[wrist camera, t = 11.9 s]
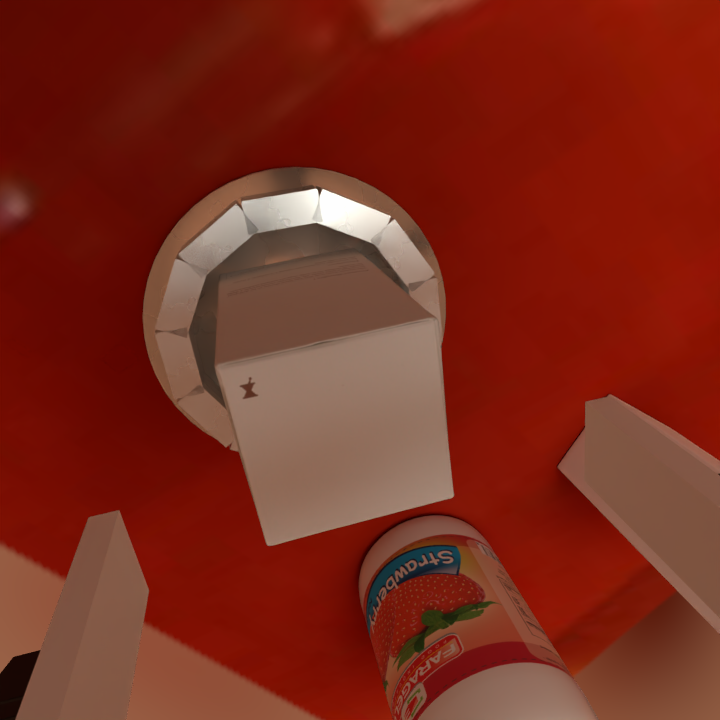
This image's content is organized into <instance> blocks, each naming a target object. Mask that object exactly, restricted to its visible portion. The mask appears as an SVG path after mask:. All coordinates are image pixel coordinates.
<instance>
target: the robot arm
mask: <svg viewBox="0 0 720 720" xmlns="http://www.w3.org/2000/svg"><path fill="white" fill-rule="evenodd" d="M584 481H585V482H586V483H587V484H588V485H589V486H590V487H591V488H592V489H593V490H594V491H595V492H596V493H597V494H598V495H599V496H600V497H601V498H602V499H603V500H604V501H605V503H606V504H607V505H608V506H609V507H610V508H611V509H612V510H613V511H614V512H615V513H616V514H617V515H618V516H619V517H620V518H621V519H622V520H623V521H624V522H625V523H626V524H627V525H628V526H629V527H630V528H631V529H632V530H633V531H634V532H635V533H636V534H637V535H638V536H639V537H640V538H641V539H642V540H643V541H644V542H645V543H646V544H647V545H648V546H649V547H650V548H651V549H652V550H653V551H654V552H655V553H656V554H657V555H658V556H659V557H660V558H661V559H662V560H663V561H664V562H665V563H666V564H667V565H668V566H669V567H670V568H671V569H672V570H673V571H674V573H675V574H676V575H677V576H678V577H679V578H680V579H681V580H682V581H683V582H684V583H685V584H686V585H687V586H688V587H689V588H690V589H691V590H692V591H693V592H694V593H695V594H696V595H697V596H698V597H699V598H700V599H701V600H702V601H703V602H704V603H705V604H706V605H707V606H708V607H709V608H710V609H711V610H712V611H713V612H714V613H715V614H716V615H717V616H718V617H719V618H720V473H719V474H717V473H715V472H714V471H713V470H711V469H710V468H709V467H707V466H706V465H704V464H703V463H702V462H700V461H699V460H697V459H696V458H695V457H693V456H692V455H691V454H689V453H688V452H686V451H685V450H684V449H682V448H681V447H679V446H678V445H677V444H675V443H674V442H673V441H671V440H670V439H668V438H667V437H666V436H664V435H663V434H661V433H660V432H659V431H657V430H656V429H655V428H653V427H652V426H650V425H649V424H648V423H646V422H645V421H643V420H642V419H641V418H639V417H638V416H637V415H635V414H634V413H632V412H631V411H630V410H628V409H627V408H625V407H624V406H623V405H621V404H620V403H618V402H617V401H616V400H614V399H613V398H612V397H610V396H609V397H604V398H600V399H596V400H591V401H587V402H585V464H584ZM148 593H149V589H148V586H147V584H146V581H145V578H144V576H143V573H142V570H141V568H140V565H139V562H138V560H137V557H136V554H135V552H134V549H133V546H132V544H131V541H130V538H129V535H128V533H127V530H126V527H125V525H124V522H123V519H122V517H121V514H120V511H119V510H118V511H114V512H110V513H105V514H101V515H97V516H92V517H89V518H88V521H87V523H86V526H85V529H84V532H83V534H82V537H81V540H80V543H79V545H78V548H77V551H76V554H75V556H74V559H73V562H72V565H71V567H70V570H69V573H68V576H67V578H66V581H65V584H64V587H63V590H62V592H61V595H60V598H59V601H58V604H57V606H56V609H55V612H54V614H53V617H52V620H51V623H50V626H49V628H48V631H47V634H46V636H45V639H44V642H43V645H42V648H41V650H39V651H35V652H31V653H27V654H23V655H20V656H16V657H13V658H12V660H11V661H10V662H9V663H8V665H7V666H6V667H5V668H4V670H3V671H2V672H1V673H0V720H126V717H127V712H128V706H129V701H130V700H129V699H130V695H131V689H132V684H133V678H134V672H135V666H136V661H137V654H138V649H139V644H140V638H141V633H142V627H143V621H144V616H145V610H146V604H147V599H148Z"/></svg>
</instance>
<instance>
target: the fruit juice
mask: <svg viewBox="0 0 720 720" xmlns="http://www.w3.org/2000/svg"><path fill="white" fill-rule="evenodd" d="M359 595H360V602H361V606H362V610H363V613H364V617H365V621H366V624H367V628H368V631H369V635H370V639H371V642H372V646H373V649H374V653H375V657H376V660H377V664H378V667H379V671H380V675H381V678H382V682H383V685H384V689H385V692H386V696H387V700H388V703H389V707H390V710H391V714H392V717H393V720H598V718H597V717H596V714H595V713H594V711H593V709H592V707H591V706H590V704H589V702H588V700H587V698H586V697H585V695H584V694H583V692H582V691H581V689H580V687H579V686H578V685H577V683H576V681H575V680H574V678H573V677H572V675H571V674H570V672H569V671H568V669H567V667H566V666H565V664H564V663H563V661H562V659H561V658H560V656H559V655H558V653H557V652H556V650H555V648H554V647H553V645H552V644H551V642H550V640H549V639H548V637H547V636H546V634H545V632H544V631H543V629H542V628H541V626H540V624H539V623H538V621H537V620H536V618H535V616H534V615H533V613H532V612H531V610H530V608H529V607H528V605H527V604H526V602H525V600H524V599H523V597H522V596H521V594H520V593H519V591H518V589H517V588H516V586H515V585H514V583H513V581H512V580H511V578H510V577H509V575H508V573H507V572H506V570H505V569H504V567H503V565H502V564H501V562H500V561H499V559H498V558H497V556H496V554H495V553H494V551H493V550H492V548H491V546H490V545H489V543H488V542H487V541H486V540H485V538H484V537H483V536H482V535H481V534H480V533H479V532H478V531H477V530H476V529H475V528H473V527H472V526H471V525H469V524H468V523H466V522H464V521H462V520H459V519H457V518H453V517H449V516H442V515H430V516H423V517H418V518H414V519H411V520H408V521H406V522H403V523H401V524H399V525H397V526H396V527H394V528H392V529H391V530H389V531H388V532H387V533H385V534H384V535H383V536H382V537H381V538H380V539H378V541H377V542H376V543H375V544H374V545H373V546H372V548H371V549H370V550H369V552H368V553H367V555H366V557H365V559H364V561H363V564H362V567H361V570H360V575H359Z"/></svg>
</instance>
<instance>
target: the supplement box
mask: <svg viewBox="0 0 720 720" xmlns="http://www.w3.org/2000/svg"><path fill="white" fill-rule="evenodd" d="M214 365H215V370H216V374H217V378H218V381H219V385H220V388H221V392H222V395H223V399H224V402H225V406H226V409H227V412H228V416H229V419H230V423H231V426H232V430H233V433H234V437H235V440H236V444H237V447H238V450H239V454H240V457H241V460H242V464H243V467H244V470H245V474H246V477H247V480H248V484H249V487H250V490H251V493H252V497H253V500H254V503H255V507H256V510H257V513H258V517H259V520H260V523H261V527H262V530H263V534H264V538H265V541H266V544H267V545H268V546H272V545H277V544H280V543H283V542H287V541H291V540H294V539H298V538H302V537H306V536H309V535H313V534H317V533H320V532H324V531H328V530H331V529H335V528H339V527H343V526H347V525H351V524H354V523H358V522H362V521H366V520H370V519H373V518H377V517H381V516H385V515H388V514H392V513H396V512H400V511H404V510H407V509H411V508H415V507H419V506H423V505H427V504H431V503H434V502H438V501H442V500H446V499H450V498H452V497H453V496H454V492H453V483H452V474H451V465H450V455H449V446H448V433H447V420H446V407H445V394H444V382H443V368H442V355H441V342H440V328H439V321H438V319H437V318H436V317H435V316H434V315H432V314H431V313H430V312H428V311H427V310H426V309H425V308H423V307H422V306H421V305H420V304H419V303H418V302H416V301H415V300H414V299H413V298H412V297H411V296H409V295H408V294H407V293H406V292H405V291H404V290H403V289H401V288H400V287H399V286H398V285H397V284H396V283H395V282H394V281H392V280H391V279H390V278H389V277H388V276H387V275H385V274H384V273H383V272H382V271H381V270H380V269H378V268H377V267H376V266H375V265H374V264H373V263H372V262H371V261H369V260H368V259H367V258H366V257H364V256H363V255H362V254H361V253H360V252H359V251H357V250H356V249H355V248H350V249H345V250H339V251H333V252H328V253H323V254H317V255H312V256H307V257H302V258H297V259H292V260H287V261H282V262H277V263H272V264H268V265H263V266H258V267H253V268H248V269H243V270H238V271H233V272H228V273H222V274H220V275H219V286H218V308H217V329H216V348H215V364H214Z"/></svg>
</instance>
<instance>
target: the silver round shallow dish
mask: <svg viewBox="0 0 720 720" xmlns="http://www.w3.org/2000/svg"><path fill="white" fill-rule="evenodd" d="M350 248H355V249H356V250H357V251H359V252H360V253H361V254H362V255H363V256H364V257H366V258H367V259H368V260H369V261H371V262H372V263H373V264H374V265H375V266H376V267H377V268H378V269H380V270H381V271H382V272H383V273H384V274H385V275H387V276H388V277H389V278H390V279H391V280H392V281H394V282H395V283H396V284H397V285H398V286H399V287H400V288H401V289H403V290H404V291H405V292H406V293H407V294H408V295H409V296H411V297H412V298H413V299H414V300H415V301H416V302H418V303H419V304H420V305H421V306H422V307H423V308H425V309H426V310H427V311H428V312H430V313H431V314H432V315H434V316H435V317H436V318H437V319H438V321H439V328H440V342H441V343H442V342H443V335H444V328H445V318H446V300H445V291H444V285H443V278H442V275H441V272H440V268H439V265H438V262H437V259H436V257H435V255H434V253H433V250H432V248H431V246H430V244H429V242H428V241H427V239H426V237H425V236H424V234H423V233H422V231H421V229H420V228H419V227H418V225H417V224H416V223H415V222H414V221H413V219H412V218H411V217H410V216H409V215H408V213H407V212H406V211H404V210H403V209H402V208H401V207H400V206H399V205H398V204H397V203H396V202H394V201H393V200H392V199H391V198H389V197H388V196H386V195H385V194H383V193H382V192H380V191H379V190H378V189H376V188H374V187H372V186H370V185H368V184H366V183H364V182H362V181H360V180H358V179H356V178H353V177H350V176H347V175H344V174H341V173H338V172H335V171H330V170H324V169H319V168H314V167H283V168H272V169H267V170H263V171H259V172H255V173H250V174H248V175H245V176H243V177H240V178H238V179H235V180H232V181H230V182H228V183H226V184H225V185H223V186H221V187H219V188H217V189H216V190H214V191H212V192H211V193H209V194H208V195H207V196H205V197H204V198H203V199H201V200H200V201H199V202H197V203H196V204H195V205H194V206H193V207H192V208H191V209H190V210H189V211H188V212H187V213H186V214H185V215H184V216H183V217H182V218H181V219H180V220H179V221H178V223H177V224H176V225H175V227H174V228H173V229H172V231H171V232H170V233H169V235H168V236H167V238H166V239H165V241H164V243H163V245H162V247H161V249H160V250H159V252H158V254H157V256H156V258H155V260H154V263H153V266H152V269H151V271H150V274H149V277H148V281H147V286H146V290H145V295H144V305H143V328H144V339H145V343H146V347H147V352H148V356H149V359H150V362H151V364H152V367H153V369H154V372H155V375H156V377H157V378H158V380H159V382H160V384H161V386H162V387H163V389H164V391H165V393H166V394H167V395H168V397H169V398H170V399H171V401H172V402H173V403H174V405H175V406H176V407H177V408H178V409H179V410H180V411H181V412H182V413H183V414H184V415H185V416H186V417H187V418H188V419H189V420H190V421H191V422H192V423H193V424H195V425H196V426H197V427H198V428H200V429H201V430H202V431H204V432H205V433H207V434H208V435H210V436H212V437H213V438H215V439H217V440H218V441H219V442H220V443H221V444H223V445H224V446H225V447H227V446H228V445H229V446H230V450H234V451H238V452H239V450H238V447H237V444H236V440H235V437H234V433H233V430H232V426H231V423H230V419H229V416H228V412H227V409H226V406H225V402H224V399H223V395H222V392H221V388H220V385H219V381H218V378H217V374H216V370H215V365H214V364H215V348H216V329H217V308H218V286H219V275H220V274H222V273H228V272H233V271H238V270H243V269H248V268H253V267H258V266H263V265H268V264H272V263H277V262H282V261H287V260H292V259H297V258H302V257H307V256H312V255H317V254H323V253H328V252H333V251H339V250H345V249H350ZM441 348H442V346H441Z"/></svg>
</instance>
